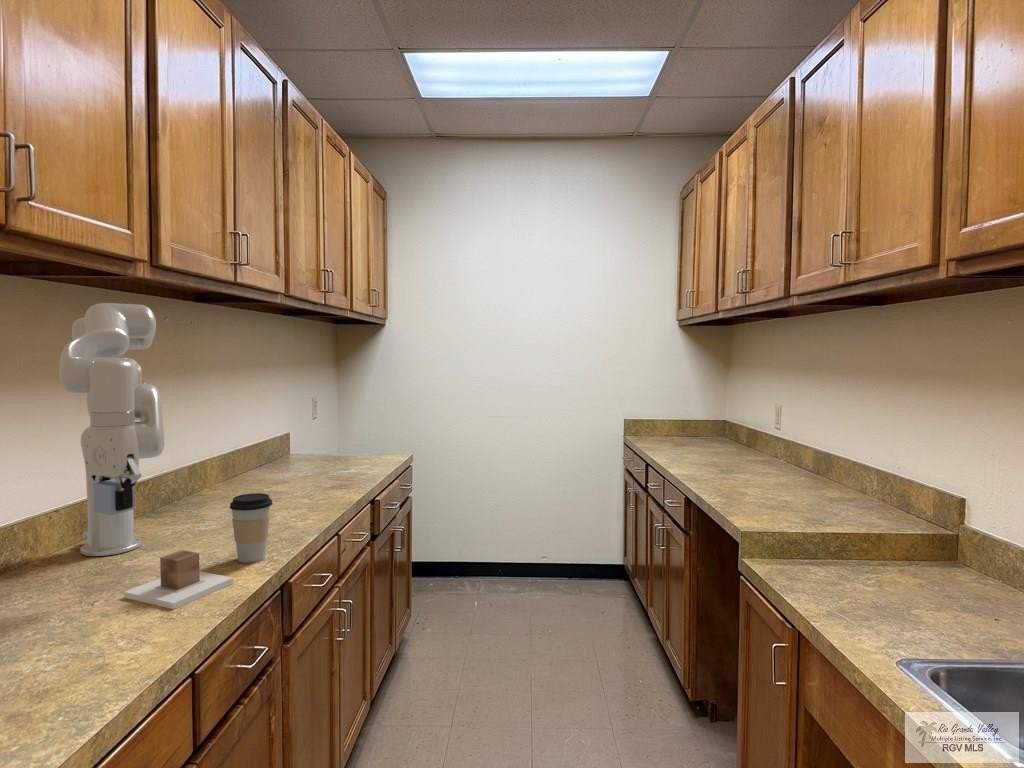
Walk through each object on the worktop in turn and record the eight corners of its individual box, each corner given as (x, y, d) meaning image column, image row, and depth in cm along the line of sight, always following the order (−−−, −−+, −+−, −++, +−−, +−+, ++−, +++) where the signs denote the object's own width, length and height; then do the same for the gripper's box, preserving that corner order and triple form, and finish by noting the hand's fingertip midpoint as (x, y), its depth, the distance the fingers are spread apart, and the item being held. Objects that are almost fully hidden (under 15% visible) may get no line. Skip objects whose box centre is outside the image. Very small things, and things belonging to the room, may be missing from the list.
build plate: (124, 597, 117) (123, 591, 117) (186, 573, 130) (185, 567, 130) (173, 609, 112) (173, 602, 112) (233, 583, 125) (233, 577, 125)
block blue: (94, 512, 119) (93, 483, 119) (118, 505, 124) (118, 478, 124) (110, 515, 117) (110, 485, 117) (135, 508, 122) (134, 480, 122)
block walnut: (160, 586, 120) (160, 557, 120) (182, 577, 124) (182, 550, 124) (178, 590, 118) (177, 560, 118) (199, 581, 123) (199, 553, 122)
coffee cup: (232, 554, 143) (231, 494, 142) (273, 550, 146) (273, 491, 146) (228, 567, 134) (227, 503, 133) (272, 563, 137) (272, 500, 137)
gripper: (66, 419, 119) (68, 506, 120) (123, 425, 113) (125, 517, 114) (103, 415, 126) (105, 498, 127) (159, 420, 120) (160, 507, 121)
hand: (114, 506), depth 121 cm, fingers closed on block blue, 5 cm apart
